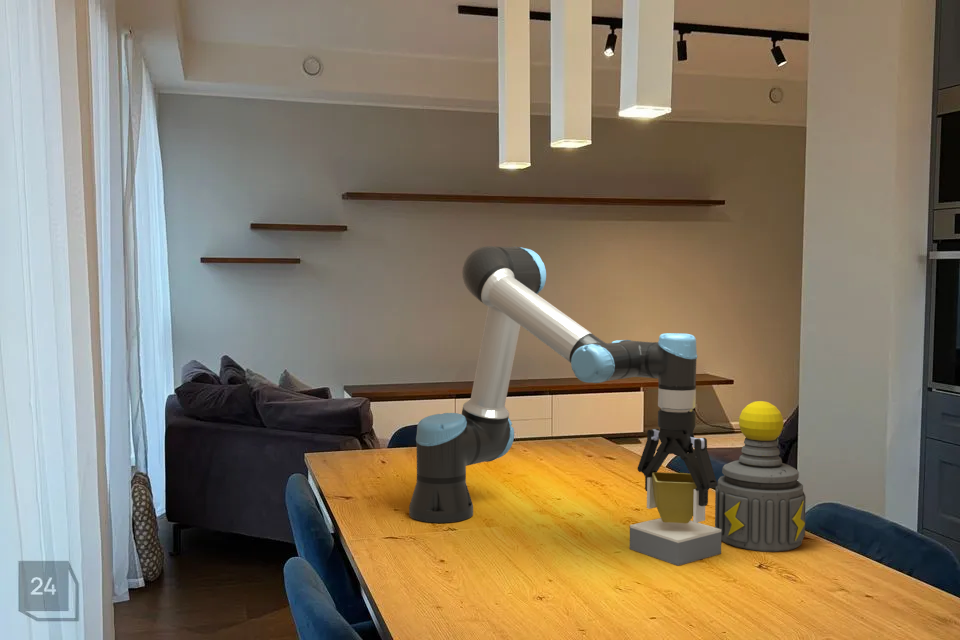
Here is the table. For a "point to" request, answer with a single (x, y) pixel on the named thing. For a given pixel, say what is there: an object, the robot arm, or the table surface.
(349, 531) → the table surface
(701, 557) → the plinth
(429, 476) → the robot arm
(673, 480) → the flower pot
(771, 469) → the decorative lamp
